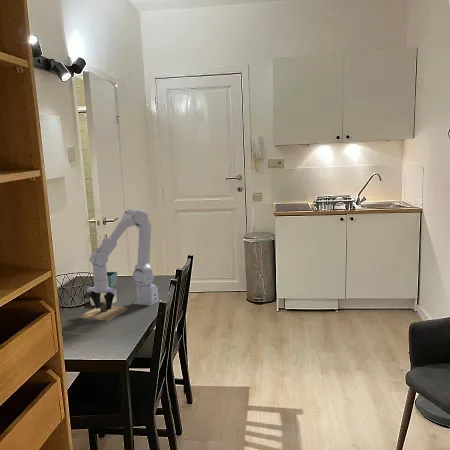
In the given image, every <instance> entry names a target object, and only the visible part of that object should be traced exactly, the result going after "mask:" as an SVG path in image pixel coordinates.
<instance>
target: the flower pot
mask: <svg viewBox="0 0 450 450" xmlns="http://www.w3.org/2000/svg"><path fill="white" fill-rule="evenodd" d="M107 279H108V287H110V288H114V289H116V287H117V283H118V271H107Z"/></svg>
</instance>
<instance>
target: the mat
mask: <svg viewBox="0 0 450 450" xmlns="http://www.w3.org/2000/svg"><path fill="white" fill-rule="evenodd" d="M127 310H128V308H127V309H126V310H124V311H122V312H121V313H124V312H125V311H127ZM121 313H119V314H117V315H115V316H114V317H112V318H110V319H109V320H106V321H110V320H112V319H114V318H115V317H117V316H119V315H120V314H121ZM79 318H81V319H85V318H84V317H81V316H80V317H79ZM87 319H88V320H89V319H90V320H95V319H94V318H87ZM97 320H98V321H99V320H101V321H105V320H104V319H97Z"/></svg>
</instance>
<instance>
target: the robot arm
mask: <svg viewBox="0 0 450 450" xmlns="http://www.w3.org/2000/svg"><path fill="white" fill-rule="evenodd" d="M134 226H135V227H136V228H137V229H138V250H137V263H136V265H135V266H134V271H133V273H132V278H133V280H134V281H135V287H136V288H135V289H136V299H137V301H135V302H133V304H134V305H142V306H152V305H154V304H156V303H157V302H159V301H160V299H159V288H158V286H157V284H153V283H154V278H155V276H154V272H153V268H152V265H151V263H150V262H151V261H150V259H151V258H150V257H151V240H152V224H151V222H150V219H149V214H148V213H146V212H145V211H144V210H143V209H134V208H129V209H127V210H126V211H125V213H124V214H123V215H122V217H121V219H120V221H119V222H118V224H117V225H116V227H115V228H114V230H113V231H112V233H111V235H110V236H107V237H105V238H103V239H102V240H101V244H100V245H99V246H98V248H95V251H93V252H92V253H91V255H90V257H89V262H90V263H91V264H92V265H91V266H92V273H93V283H94V286H88V287H87V288H86V290H87V291H86V292H87V293H90V294H89V298H90V297H91V298H92V300H93V302H94V304H95V306H94V307H95V308H96V309H98V308H100V294H101V293H107V294H106V295H104V298H105V301H106V306H107V310H109V309H111V307H112V306H113V305H112V304H113V303H112V301H113V298H114V296H115V294H116V295H117V294H118V290H117V289H118V288H115V289H114V288H110V287H108V279H107V272H108V270H107V263H108V262H109V256H110V255H111V254H112V252H113V251H114V249H115V248H116V246H118V243H117V242H118V240H119V239H120V237H122V235H123V234H124V233H125V232H126V231H127V229H128V228H130V227H134Z"/></svg>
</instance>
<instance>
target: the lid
mask: <svg viewBox="0 0 450 450" xmlns="http://www.w3.org/2000/svg"><path fill="white" fill-rule="evenodd" d="M126 309H127V310H128V308H127V306H117V305H112V307H111V309H109V310H107V306H106V301H104V302H100V308H98V309H96V307H94V308H92V309H91V310H89V311H87V312H85V313H83V314H81V315H80V317H84V318H83V319H88V318H94V319H93V320H98V319H104V320H103V321H107V320H108V321H110V320H111V319H110V318H112V317H113V318H115V317H116V316H115V315H117V314H118V315H120V314H121V312H122V311H124V310H125V311H127V310H126ZM125 311H124V312H125ZM119 313H120V314H119ZM122 313H123V312H122ZM118 315H117V316H118ZM114 316H115V317H114ZM113 318H112V319H113ZM109 319H110V320H109Z"/></svg>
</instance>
